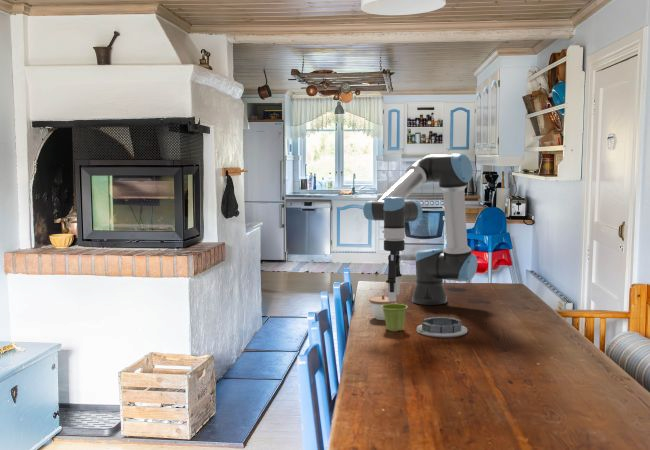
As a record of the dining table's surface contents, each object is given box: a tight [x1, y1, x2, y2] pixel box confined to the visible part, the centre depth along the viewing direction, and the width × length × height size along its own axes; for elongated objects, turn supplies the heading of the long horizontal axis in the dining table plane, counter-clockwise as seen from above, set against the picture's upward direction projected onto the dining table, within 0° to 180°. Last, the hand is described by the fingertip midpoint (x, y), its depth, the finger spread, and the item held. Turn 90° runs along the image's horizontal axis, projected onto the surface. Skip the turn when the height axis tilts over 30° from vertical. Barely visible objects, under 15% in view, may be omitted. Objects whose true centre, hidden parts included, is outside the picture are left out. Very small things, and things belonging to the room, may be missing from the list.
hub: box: [416, 316, 468, 338], centre depth 243 cm, size 18×18×4 cm
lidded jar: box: [368, 294, 398, 321], centre depth 265 cm, size 11×11×9 cm
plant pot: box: [382, 303, 409, 332], centre depth 246 cm, size 9×9×9 cm
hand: (394, 297), depth 245 cm, fingers open, 13 cm apart
